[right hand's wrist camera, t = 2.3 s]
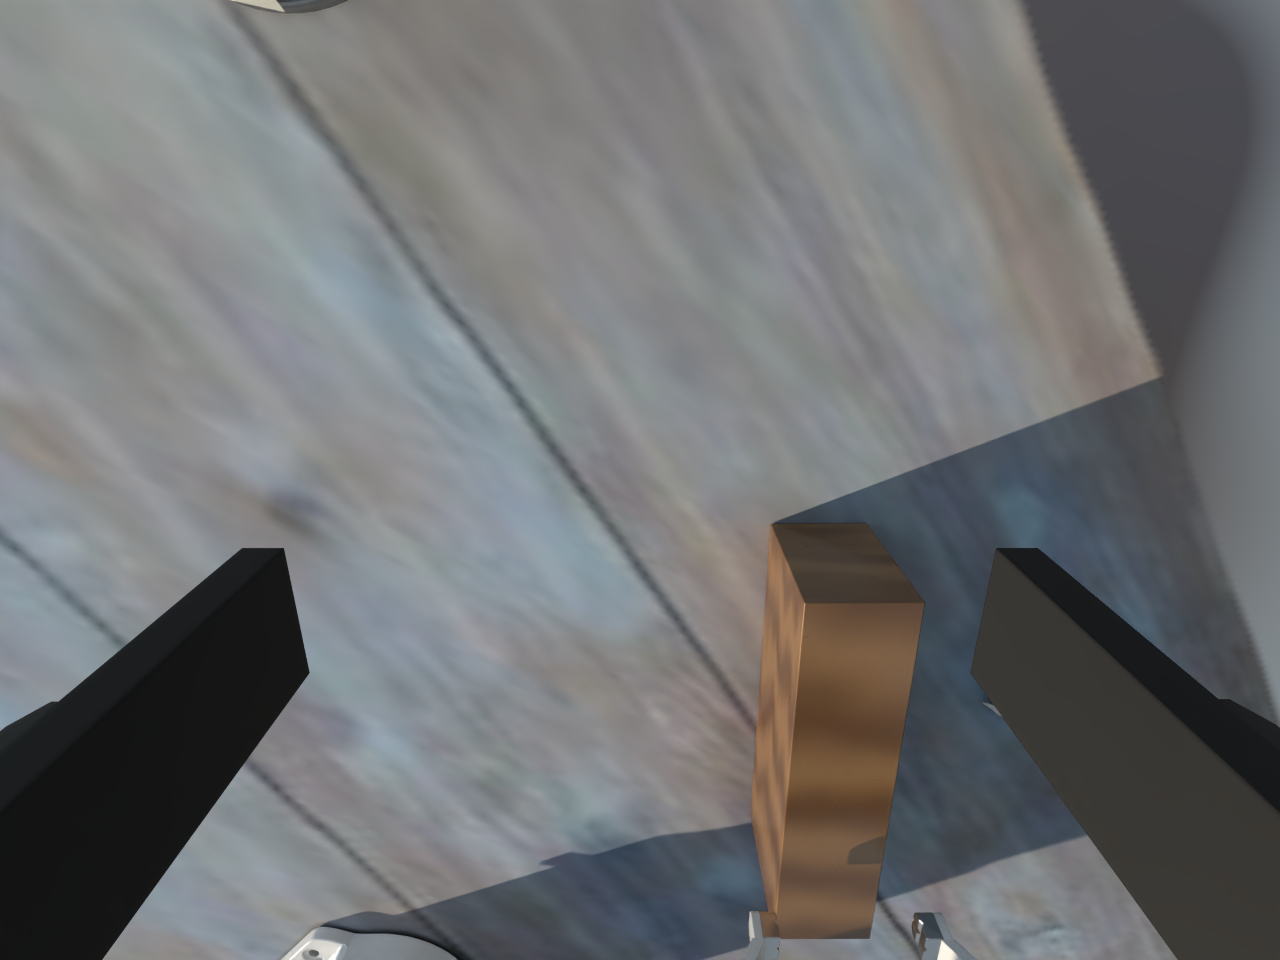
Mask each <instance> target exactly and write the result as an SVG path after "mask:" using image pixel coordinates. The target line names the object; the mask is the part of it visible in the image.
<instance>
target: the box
mask: <svg viewBox="0 0 1280 960" xmlns="http://www.w3.org/2000/svg"><path fill="white" fill-rule="evenodd" d="M924 606H925V602H924V600H923V599H922V598H921V596H920V595H919V594H918V592H917V591H916V589H915V588H914V587H913V585H912V584H911V583H910V581H909V580H908V579H907V577H906V576H905V575H904V573H903V572H902V570H901V569H900V568H899V566H898V565H897V564H896V562H895V561H894V560H893V558H892V557H891V556H890V554H889V553H888V551H887V550H886V549H885V547H884V546H883V545H882V543H881V542H880V541H879V539H878V538H877V537H876V535H875V534H874V533H873V531H872V530H871V528H870V527H869V526H868V524H866V523H830V524H771V528H770V543H769V557H768V572H767V586H766V601H765V615H764V630H763V644H762V659H761V673H760V688H759V702H758V717H757V731H756V746H755V760H754V775H753V789H752V804H751V820H752V826H753V831H754V836H755V842H756V847H757V853H758V858H759V864H760V869H761V874H762V880H763V885H764V891H765V896H766V902H767V907H768V912H776V916H777V925H778V927H779V932H780V939H869V938H870V935H871V929H872V922H873V916H874V910H875V904H876V898H877V892H878V886H879V880H880V874H881V868H882V862H883V855H884V849H885V843H886V837H887V831H888V825H889V819H890V813H891V807H892V801H893V795H894V789H895V782H896V776H897V770H898V764H899V758H900V752H901V746H902V740H903V734H904V728H905V722H906V716H907V709H908V703H909V697H910V691H911V685H912V679H913V673H914V667H915V661H916V655H917V649H918V642H919V636H920V630H921V624H922V618H923V612H924Z"/></svg>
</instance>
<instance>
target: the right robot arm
mask: <svg viewBox="0 0 1280 960" xmlns="http://www.w3.org/2000/svg"><path fill="white" fill-rule="evenodd" d="M232 1H235V2H237V3H239V4H242V5H245V6H249V7H252V8H255V9H260V10H264V11H269V12H278V13H305V12H312V11H318V10H322V9H325V8H329V7H332V6H335V5H337V4H340V3H342V2H345V1H347V0H232ZM308 674H309V668H308V663H307V658H306V653H305V649H304V644H303V639H302V634H301V629H300V624H299V619H298V615H297V610H296V605H295V600H294V595H293V590H292V585H291V581H290V576H289V571H288V566H287V561H286V556H285V551H284V548H242V549H241V550H239V551H238V552H237V553H236V554H235V555H233V556H232V557H231V558H230V559H229V560H227V561H226V562H225V563H224V564H223V565H221V566H220V567H219V568H218V569H217V570H216V571H214V572H213V573H212V574H211V575H210V576H208V577H207V578H206V579H205V580H204V581H202V582H201V583H200V584H199V585H198V586H196V587H195V588H194V589H193V590H192V591H190V592H189V593H188V594H187V595H186V596H184V597H183V598H182V599H181V600H180V601H178V602H177V603H176V604H175V605H174V606H172V607H171V608H170V609H169V610H168V611H166V612H165V613H164V614H163V615H162V616H160V617H159V618H158V619H157V620H156V621H154V622H153V623H152V624H151V625H150V626H149V627H147V628H146V629H145V630H144V631H143V632H141V633H140V634H139V635H138V636H137V637H135V638H134V639H133V640H132V641H131V642H129V643H128V644H127V645H126V646H125V647H123V648H122V649H121V650H120V651H119V652H117V653H116V654H115V655H114V656H113V657H111V658H110V659H109V660H108V661H107V662H105V663H104V664H103V665H102V666H101V667H99V668H98V669H97V670H96V671H95V672H93V673H92V674H91V675H90V676H89V677H87V678H86V679H85V680H84V681H83V682H81V683H80V684H79V685H78V686H77V687H76V688H74V689H73V690H72V691H71V692H70V693H68V694H67V695H66V696H65V697H64V698H62V699H61V700H60V701H59V702H50V703H48V704H46V705H44V706H43V707H41V708H39V709H37V710H35V711H34V712H32V713H30V714H28V715H26V716H24V717H23V718H21V719H19V720H17V721H15V722H14V723H12V724H10V725H8V726H6V727H5V728H4V729H2V730H1V731H0V960H102V959H103V958H104V956H105V955H106V954H107V952H108V951H109V950H110V948H111V947H112V945H113V944H114V943H115V941H116V940H117V938H118V937H119V936H120V934H121V933H122V932H123V930H124V929H125V927H126V926H127V925H128V923H129V922H130V920H131V919H132V918H133V916H134V915H135V914H136V912H137V911H138V909H139V908H140V907H141V905H142V904H143V903H144V901H145V900H146V898H147V897H148V896H149V894H150V893H151V891H152V890H153V889H154V887H155V886H156V885H157V883H158V882H159V880H160V879H161V878H162V876H163V875H164V873H165V872H166V871H167V869H168V868H169V867H170V865H171V864H172V862H173V861H174V860H175V858H176V857H177V855H178V854H179V853H180V851H181V850H182V849H183V847H184V846H185V844H186V843H187V842H188V840H189V839H190V838H191V836H192V835H193V833H194V832H195V831H196V829H197V828H198V826H199V825H200V824H201V822H202V821H203V820H204V818H205V817H206V815H207V814H208V813H209V811H210V810H211V808H212V807H213V806H214V804H215V803H216V802H217V800H218V799H219V797H220V796H221V795H222V793H223V792H224V790H225V789H226V788H227V786H228V785H229V784H230V782H231V781H232V779H233V778H234V777H235V775H236V774H237V772H238V771H239V770H240V768H241V767H242V766H243V764H244V763H245V761H246V760H247V759H248V757H249V756H250V755H251V753H252V752H253V750H254V749H255V748H256V746H257V745H258V743H259V742H260V741H261V739H262V738H263V737H264V735H265V734H266V732H267V731H268V730H269V728H270V727H271V725H272V724H273V723H274V721H275V720H276V719H277V717H278V716H279V714H280V713H281V712H282V710H283V709H284V707H285V706H286V705H287V703H288V702H289V701H290V699H291V698H292V696H293V695H294V694H295V692H296V691H297V689H298V688H299V687H300V685H301V684H302V683H303V681H304V680H305V678H306V677H307V676H308ZM971 674H972V676H973V677H974V678H975V680H976V681H977V683H978V684H979V685H980V687H981V688H982V689H983V691H984V692H985V694H986V695H987V696H988V698H989V699H990V701H991V702H992V703H993V705H994V706H995V707H996V709H997V710H998V712H999V713H1000V714H1001V716H1002V717H1003V719H1004V720H1005V721H1006V723H1007V724H1008V725H1009V727H1010V728H1011V730H1012V731H1013V732H1014V734H1015V735H1016V737H1017V738H1018V739H1019V741H1020V742H1021V743H1022V745H1023V746H1024V748H1025V749H1026V750H1027V752H1028V753H1029V755H1030V756H1031V757H1032V759H1033V760H1034V761H1035V763H1036V764H1037V766H1038V767H1039V768H1040V770H1041V771H1042V772H1043V774H1044V775H1045V777H1046V778H1047V779H1048V781H1049V782H1050V784H1051V785H1052V786H1053V788H1054V789H1055V790H1056V792H1057V793H1058V795H1059V796H1060V797H1061V799H1062V800H1063V802H1064V803H1065V804H1066V806H1067V807H1068V808H1069V810H1070V811H1071V813H1072V814H1073V815H1074V817H1075V818H1076V820H1077V821H1078V822H1079V824H1080V825H1081V826H1082V828H1083V829H1084V831H1085V832H1086V833H1087V835H1088V836H1089V838H1090V839H1091V840H1092V842H1093V843H1094V844H1095V846H1096V847H1097V849H1098V850H1099V851H1100V853H1101V854H1102V855H1103V857H1104V858H1105V860H1106V861H1107V862H1108V864H1109V865H1110V867H1111V868H1112V869H1113V871H1114V872H1115V873H1116V875H1117V876H1118V878H1119V879H1120V880H1121V882H1122V883H1123V885H1124V886H1125V887H1126V889H1127V890H1128V891H1129V893H1130V894H1131V896H1132V897H1133V898H1134V900H1135V901H1136V903H1137V904H1138V905H1139V907H1140V908H1141V909H1142V911H1143V912H1144V914H1145V915H1146V916H1147V918H1148V919H1149V920H1150V922H1151V923H1152V925H1153V926H1154V927H1155V929H1156V930H1157V932H1158V933H1159V934H1160V936H1161V937H1162V938H1163V940H1164V941H1165V943H1166V944H1167V945H1168V947H1169V948H1170V950H1171V951H1172V952H1173V954H1174V955H1175V956H1176V958H1177V959H1178V960H1280V728H1279V727H1278V726H1277V725H1275V724H1274V723H1272V722H1270V721H1268V720H1266V719H1265V718H1263V717H1261V716H1259V715H1257V714H1255V713H1254V712H1252V711H1250V710H1248V709H1246V708H1244V707H1243V706H1241V705H1239V704H1237V703H1235V702H1233V701H1232V700H1230V699H1218V698H1216V697H1215V696H1214V695H1213V694H1212V693H1210V692H1209V691H1208V690H1207V689H1206V688H1204V687H1203V686H1202V685H1201V684H1200V683H1198V682H1197V681H1196V680H1195V679H1194V678H1193V677H1191V676H1190V675H1189V674H1188V673H1187V672H1185V671H1184V670H1183V669H1182V668H1181V667H1179V666H1178V665H1177V664H1176V663H1175V662H1173V661H1172V660H1171V659H1170V658H1169V657H1167V656H1166V655H1165V654H1164V653H1163V652H1161V651H1160V650H1159V649H1158V648H1157V647H1155V646H1154V645H1153V644H1152V643H1151V642H1149V641H1148V640H1147V639H1146V638H1145V637H1143V636H1142V635H1141V634H1140V633H1139V632H1137V631H1136V630H1135V629H1134V628H1133V627H1131V626H1130V625H1129V624H1128V623H1127V622H1126V621H1124V620H1123V619H1122V618H1121V617H1120V616H1118V615H1117V614H1116V613H1115V612H1114V611H1112V610H1111V609H1110V608H1109V607H1108V606H1106V605H1105V604H1104V603H1103V602H1102V601H1100V600H1099V599H1098V598H1097V597H1096V596H1094V595H1093V594H1092V593H1091V592H1090V591H1088V590H1087V589H1086V588H1085V587H1084V586H1082V585H1081V584H1080V583H1079V582H1078V581H1076V580H1075V579H1074V578H1073V577H1072V576H1070V575H1069V574H1068V573H1067V572H1066V571H1064V570H1063V569H1062V568H1061V567H1060V566H1059V565H1057V564H1056V563H1055V562H1054V561H1053V560H1051V559H1050V558H1049V557H1048V556H1047V555H1045V554H1044V553H1043V552H1042V551H1041V550H1039V549H1038V548H996V551H995V556H994V561H993V566H992V571H991V576H990V581H989V585H988V590H987V595H986V600H985V605H984V610H983V615H982V619H981V624H980V629H979V634H978V639H977V644H976V649H975V653H974V658H973V663H972V668H971Z"/></svg>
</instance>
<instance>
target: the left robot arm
mask: <svg viewBox="0 0 1280 960" xmlns="http://www.w3.org/2000/svg"><path fill="white" fill-rule="evenodd" d="M913 917H914V921H913V922H912V934H913V937H914V940H915V942H916V943H917V944H918V951H919V954H920V957H921V960H976V959H975V958H974V957H973V956H972V955H971V954H970V953H969V952H968V951H967V950H966V949H965V948H963V947H962V946H961V945H960V944H959V943H958V942H957V941H956V940H953V939H952V936H951V934H950V931H949V929H948V927H947V924H946V922H945V919H944V917H943V915H942V914H941V913H932V912H924V913H914V916H913ZM749 936H750V944H749V946H748V948H747V950H746V952H745V954H744V956H743V959H742V960H764V959H778V957H779V946H780V932H779V927H778V925H777V916H776V912H767V911H750V916H749ZM281 960H458V959H456V958H455V957H454V956H453V955H451V954H450V953H448V952H447V951H445V950H443V949H441V948H439V947H438V946H435V945H433V944H431V943H428V942H426V941H423V940H420V939H416V938H413V937H408V936H403V935H396V934H357V933H351V932H348V931H344V930H340V929H335V928H330V927H318V928H315V929H314V930H312V931H311V932H310V933H309V934H308V935H307V936H306V937H305V938H304V939H303V940H301V941H300V942H299V943H298V944H297V945H296V946H295V947H294V948H293V949H292V950H291V951H290V952H289V953H288V954H286V955H285V956H284V957H283V958H282V959H281Z"/></svg>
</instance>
